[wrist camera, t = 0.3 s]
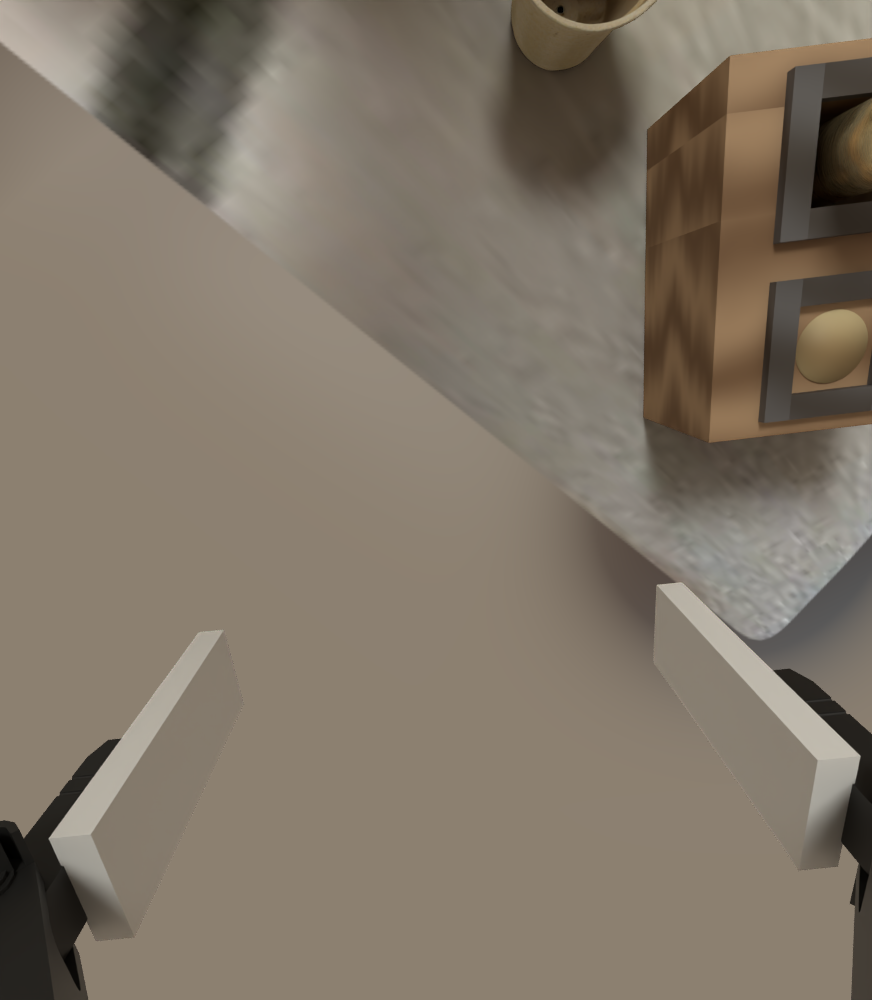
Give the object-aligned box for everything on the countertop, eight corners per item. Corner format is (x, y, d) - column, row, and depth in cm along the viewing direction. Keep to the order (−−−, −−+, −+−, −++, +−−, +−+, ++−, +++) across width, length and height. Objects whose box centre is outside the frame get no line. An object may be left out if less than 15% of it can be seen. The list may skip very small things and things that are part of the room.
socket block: (647, 129, 36) (737, 49, 25) (850, 104, 35) (1021, 14, 25) (643, 417, 42) (714, 444, 32) (816, 397, 42) (942, 418, 32)
